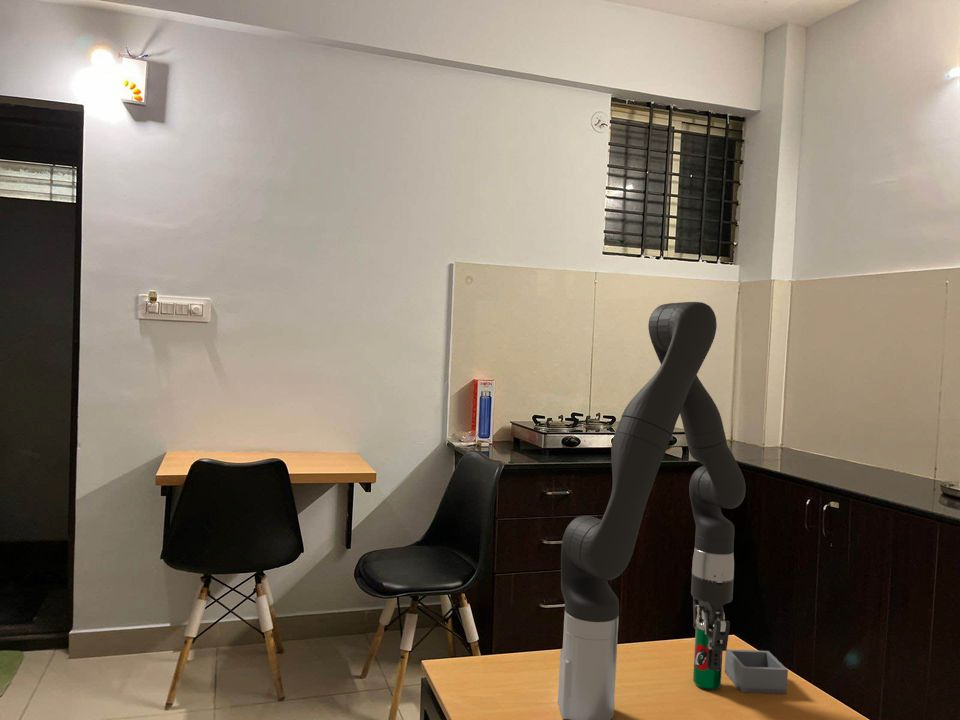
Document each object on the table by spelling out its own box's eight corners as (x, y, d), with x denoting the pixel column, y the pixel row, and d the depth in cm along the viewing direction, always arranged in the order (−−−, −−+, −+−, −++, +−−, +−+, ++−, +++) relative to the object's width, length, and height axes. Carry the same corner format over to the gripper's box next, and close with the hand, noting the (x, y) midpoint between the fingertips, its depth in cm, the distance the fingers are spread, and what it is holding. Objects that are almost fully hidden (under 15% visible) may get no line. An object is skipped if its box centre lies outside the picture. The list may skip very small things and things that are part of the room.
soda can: (722, 693, 135) (725, 628, 134) (694, 689, 136) (697, 625, 135) (718, 681, 139) (722, 619, 139) (691, 677, 140) (694, 616, 140)
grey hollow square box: (741, 692, 135) (742, 668, 135) (724, 671, 144) (725, 649, 144) (786, 693, 136) (787, 670, 136) (767, 673, 144) (768, 650, 144)
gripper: (681, 561, 144) (677, 646, 145) (705, 584, 130) (700, 678, 130) (718, 563, 145) (714, 647, 145) (747, 586, 130) (742, 680, 130)
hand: (708, 662), depth 137 cm, fingers closed on soda can, 5 cm apart
